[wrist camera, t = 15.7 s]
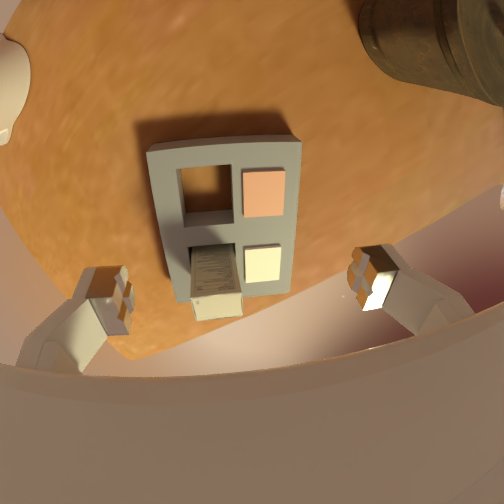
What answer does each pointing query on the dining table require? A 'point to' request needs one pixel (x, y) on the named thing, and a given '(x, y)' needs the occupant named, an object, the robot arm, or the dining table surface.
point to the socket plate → (243, 208)
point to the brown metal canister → (439, 44)
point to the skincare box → (215, 283)
